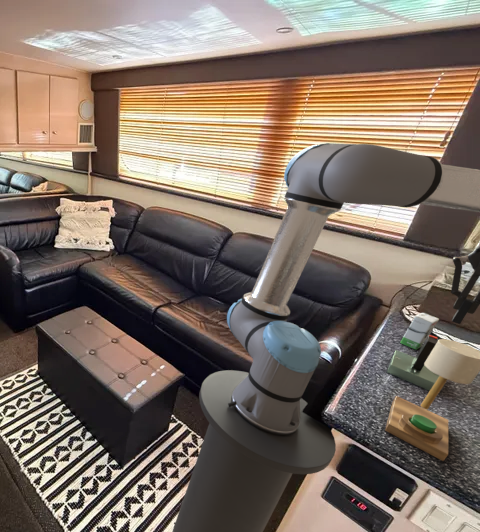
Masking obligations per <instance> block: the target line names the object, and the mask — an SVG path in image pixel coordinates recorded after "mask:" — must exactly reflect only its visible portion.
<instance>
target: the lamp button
mask: <svg viewBox="0 0 480 532" xmlns="http://www.w3.org/2000/svg"><path fill="white" fill-rule="evenodd" d="M410 422H411V424H413V425H414V426H415V427H417V428H418V429H420V430H422V431H424V432H427V433H430V434H432V433H433V432H434V431H435V429H436V428H437V426H436V424H435V423H434V422H433V421H431V420H430V419H428V418H426V417H424V416H421V415H417V414H415V415H413V417H412V418H411V420H410Z"/></svg>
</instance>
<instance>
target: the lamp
mask: <svg viewBox="0 0 480 532" xmlns="http://www.w3.org/2000/svg"><path fill="white" fill-rule="evenodd" d="M424 365H425V366H426V367H427V368H428V369H429V370H430V371H432V372H433V373H435V374H437V375H439V378H438V379H437V381H436V382H435V384H434V385H433V387H432V388H431V390H430V391H429V390H428V393H427V394H426V396H425V397H424V398H423V400H422V402H421V403H420V407H421V408H424V409H426V410H429V408H430V407H431V405H432V404H433V402H434V401H435V400H436V398H437V396H438V395H439V393H440V392H441V390H442V389H443V388H444V386H445V384H446V383H447V381H451V382H454V383H456V384H461V385H471V384H472V383H473V382H474V380H475V379H476V377H477V376H478V374H479V373H480V350H479V349H477V348H475V347H472V346H470V345H468V344H465V343H462V342H459V341H455V340H452V339H448V338H439V339H437V343H436V345H435V347H434V348H433V350H432V351H431V353H430V355H429V356H428V358H427V360H426V361H425V363H424Z"/></svg>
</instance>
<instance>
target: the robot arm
mask: <svg viewBox="0 0 480 532" xmlns="http://www.w3.org/2000/svg"><path fill="white" fill-rule="evenodd" d="M283 178H284V181H285V185H286V187H287V190H286V192H285V195H284V197H283V199H284V201H285V203H286V205H287V207H286V210H285V213H284V215H283V217H282V219H281V221H280V224H279V227H278V229H277V231H276V234H275V236H274V238H273V241H272V243H271V245H270V247H269V250H268V252H267V254H266V256H265V259H264V262H263V264H262V266H261V269H260V271H259V273H258V275H257V278H256V281H255V283H254V286H253V287H252V290H251V291H250V292H246V293H244V294H243V295H242V297H241V298H240V299H238V300H237V302H233V303H232V305H231V306H229V308H228V310H227V313H226V323H227V326H228V328H229V329H230V332H231V334H232V335H233V336H234V338H235V339H236V340H237V341H238V342H239V343H240V344H241V346H242V347H243V348H244V350H245V351H246V352H247V354H248V355H249V356H250V358H251V359H252V362H251V365H250V369H249V372H248V373H249V374H248V376H247V377H246V378H245V379H244V380H243V381H242V382H241V383H240V384H239V385H238V386H237V387H236V388H235V389H234V391H233V394H232V397H231V401H232V402H230V403H228V405H229V407H231V406H233V407H234V409H235V410H236V412H237V413H238V414H239V415H240V416H241V417H242V418H243V419H244V420H245V421H246V422H248V423H249V424H251V425H252V426H254V427H255V428H257V429H259V430H261V431H263V432H266V433H268V434H272V435H276V436H290V435H292V434H294V433H295V432H296V431H297V429H298V427H299V423H300V416H301V412H300V399H301V398H302V397H303V395H304V393H305V391H306V388H307V386H308V385H309V383H310V381H311V378H312V376H313V375H314V372H315V371H316V369H317V367H318V365H319V362H320V361H319V360H320V357H321V354H322V347H321V345H320V343H319V341H318V340H317V338H316V337H315V336H314V335H313V334H312V333H311V332H309V331H308V330H307V329H305V328H301V327H299V325H297V324H294V323H293V322H289V321H288V319H289V317H290V314H291V309H290V307H289V306H288V303H289V300H290V299H291V296H292V295H293V292H294V290H295V288H296V286H297V283H298V282H299V280H300V277H301V276H302V273H303V271H304V269H305V267H306V265H307V263H308V261H309V258H310V256H311V254H312V252H313V250H314V248H315V246H316V244H317V241H318V240H319V237H320V235H321V233H322V231H323V229H324V227H325V225H326V223H327V221H328V219H329V217H330V216H331V215H333V214H335V213H338V212H340V211H341V210H342V208H343V205H344V204H350V205H351V204H353V205H369V206H371V205H373V206H389V207H390V206H391V207H399V208H413V207H416V206H420V205H425V206H431V207H439V208H445V209H453V210H461V211H467V212H474V213H480V169H476V168H470V167H462V166H455V165H449V164H442V162H441V161H440V160H439V159H438V158H436V157H433V156H429V155H424V154H417V153H413V152H408V151H404V150H399V149H395V148H391V147H387V146H381V145H376V144H369V143H358V144H357V143H334V142H333V143H331V142H330V143H329V142H326V143H320V144H313V145H310V146H308V147H305V148H303V149H302V150H299V151H298V152H297V153H296V154H295V155H294V156H293V157H292V158H291V159H290V160H289V162H288V163H287V166H286V167H285V170H284V175H283ZM467 261H469V264H470V266H471V268H472V269H473V271H472V273H471V274H470V275H469V278H468V280H467V281H466V283H465V285H464V286H463V288H462V290H459V289H460V282H461V277H462V273H463V266H464V265H466V264H467ZM452 263H453V266H454V271H453V278H452V284H451V287H450V288H451V289H450V293H451V294H452V295H454V296H456V297H457V299H456V300H455V302H454V303H453V306H452V309H454V310H456V312H455V313H454V315H453V316H452V319H451V322H452V323H455V324H458V325H461V323H462V322H463V321H464V319H465V317H466V315H467V314H471V315H473V314H475V313H476V311H477V309H478V308H479V306H480V288H479V289H478V291H477V292H476V294H475V296H474V297H473V299H470V298H468V296H469V295H470V293H471V291H472V289H473V288H474V287H475V285H476V283H477V282H478V280H479V278H480V240H479V241H478V243H477V244H476V246H475V248H474V250H473V251H471V252H469V253H468V254H467V255H463V256H453V258H452Z"/></svg>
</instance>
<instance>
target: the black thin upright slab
mask: <svg viewBox="0 0 480 532" xmlns="http://www.w3.org/2000/svg"><path fill="white" fill-rule="evenodd" d="M438 340H439V339H438V336H434V335H432V334H430V335H428V337H427V339H426V340H425V342H424V344H423V345H422V346H421V347H420V348H419V350H418V352H417V353H416V355H415V356H414V357H415V359H414V360H413V364H412V368H414V369H416V370H418V371H421V370H422V368H423V366H424V363H425V361H426V360H427V358H428V356H429V355H430V353H431V351H432V350H433V348H434V347H435V345H436V343H437V342H438Z"/></svg>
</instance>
